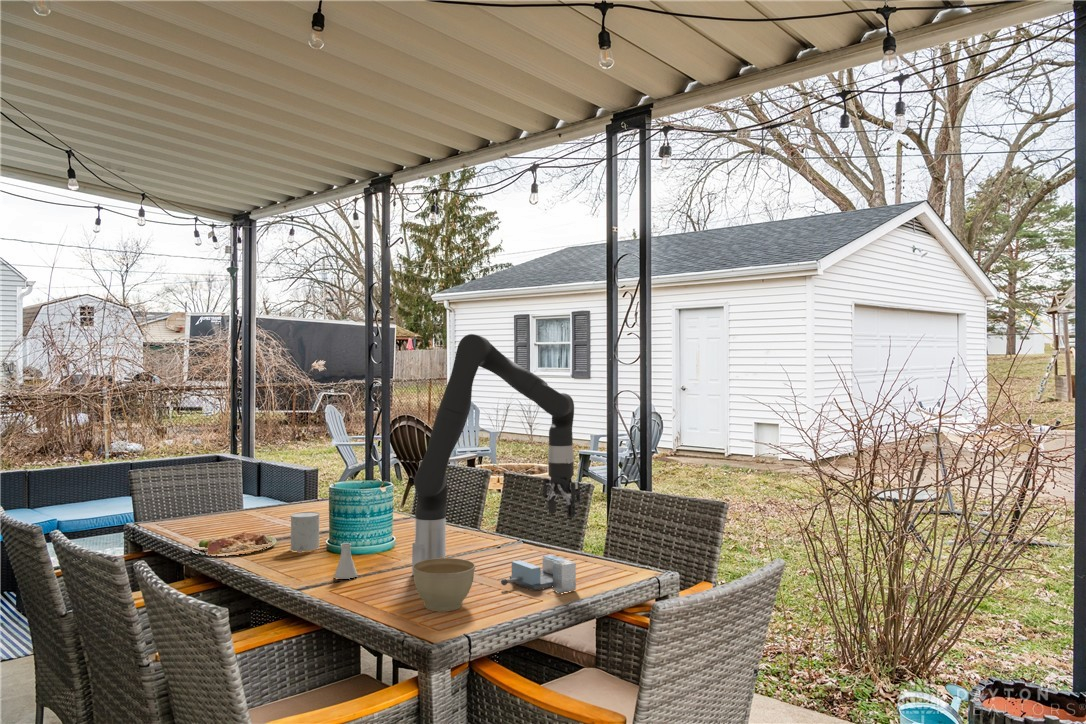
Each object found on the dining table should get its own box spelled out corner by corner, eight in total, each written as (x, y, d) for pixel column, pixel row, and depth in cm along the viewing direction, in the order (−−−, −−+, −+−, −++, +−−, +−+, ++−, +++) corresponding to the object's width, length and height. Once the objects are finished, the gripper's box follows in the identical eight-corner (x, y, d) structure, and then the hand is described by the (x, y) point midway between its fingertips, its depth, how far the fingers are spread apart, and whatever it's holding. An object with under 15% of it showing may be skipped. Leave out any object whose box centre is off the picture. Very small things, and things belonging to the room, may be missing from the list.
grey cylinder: (284, 551, 248) (284, 515, 248) (303, 545, 257) (303, 511, 257) (306, 554, 244) (306, 517, 245) (325, 548, 253) (325, 513, 254)
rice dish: (235, 565, 235) (236, 548, 235) (171, 554, 245) (172, 538, 245) (293, 546, 261) (293, 531, 262) (233, 537, 271) (233, 522, 271)
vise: (533, 591, 202) (533, 569, 203) (509, 581, 212) (509, 561, 212) (574, 582, 211) (574, 561, 212) (549, 573, 221) (550, 553, 221)
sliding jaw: (511, 590, 199) (511, 572, 199) (491, 581, 207) (491, 565, 207) (541, 583, 205) (541, 566, 205) (521, 575, 213) (521, 559, 213)
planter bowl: (448, 621, 177) (448, 576, 178) (399, 609, 186) (400, 567, 186) (487, 603, 191) (487, 562, 191) (440, 594, 200) (440, 554, 200)
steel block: (561, 594, 200) (561, 565, 200) (553, 591, 203) (553, 562, 203) (575, 591, 203) (575, 562, 203) (566, 588, 206) (566, 559, 206)
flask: (335, 582, 211) (336, 547, 211) (330, 576, 218) (331, 542, 218) (360, 579, 214) (360, 545, 215) (355, 573, 221) (355, 540, 221)
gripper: (536, 459, 217) (536, 513, 216) (567, 463, 206) (567, 520, 205) (555, 457, 222) (555, 510, 221) (586, 461, 211) (587, 517, 210)
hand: (561, 515), depth 213 cm, fingers open, 8 cm apart
